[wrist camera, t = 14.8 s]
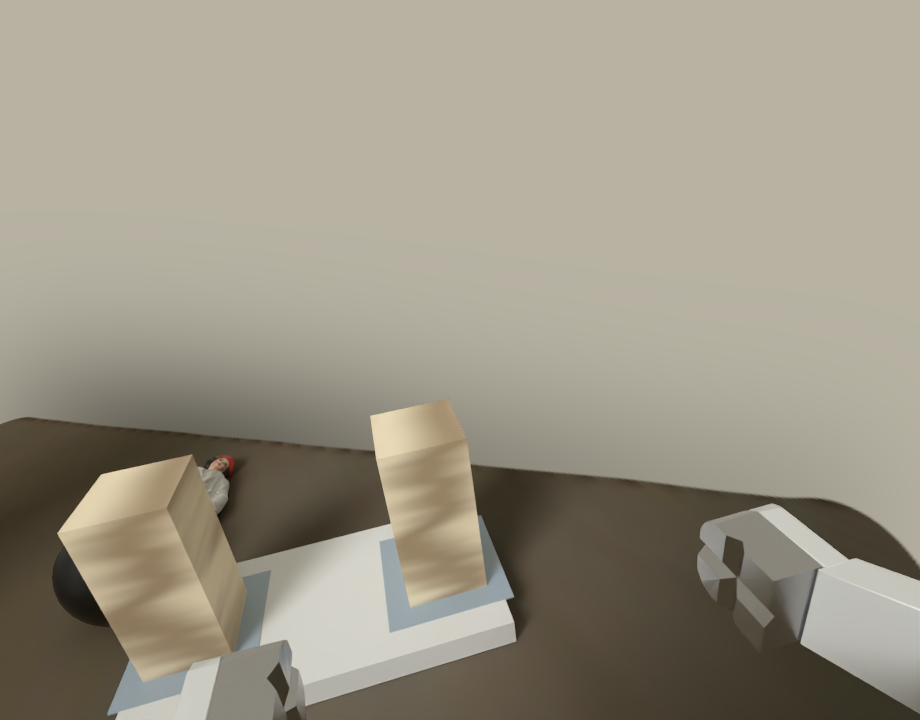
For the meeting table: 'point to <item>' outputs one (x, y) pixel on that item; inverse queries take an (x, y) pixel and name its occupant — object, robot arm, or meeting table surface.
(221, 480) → the figurine
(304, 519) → the meeting table surface
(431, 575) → the loose pillar
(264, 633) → the white base board
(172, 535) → the standing pillar
